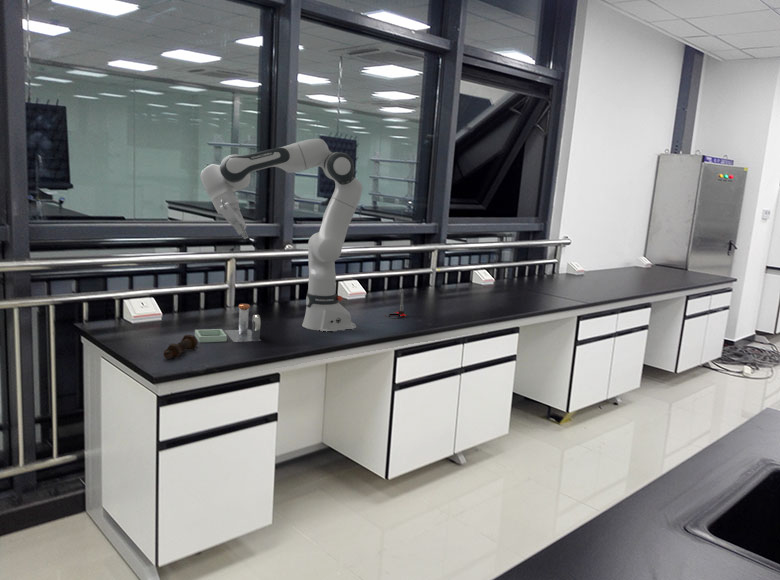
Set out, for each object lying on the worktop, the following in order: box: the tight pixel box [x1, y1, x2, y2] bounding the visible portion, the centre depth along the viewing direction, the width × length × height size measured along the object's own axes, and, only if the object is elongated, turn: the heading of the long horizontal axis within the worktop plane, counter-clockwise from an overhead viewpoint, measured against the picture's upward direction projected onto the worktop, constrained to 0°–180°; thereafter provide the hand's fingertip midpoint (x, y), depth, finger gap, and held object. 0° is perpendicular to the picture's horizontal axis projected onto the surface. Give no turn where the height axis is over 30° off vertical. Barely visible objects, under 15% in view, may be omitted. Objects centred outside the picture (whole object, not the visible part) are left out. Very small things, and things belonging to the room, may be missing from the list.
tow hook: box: [395, 288, 408, 316], centre depth 289 cm, size 8×13×9 cm
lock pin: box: [238, 303, 251, 334], centre depth 235 cm, size 4×4×11 cm
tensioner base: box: [223, 314, 262, 343], centre depth 233 cm, size 10×16×10 cm, turn 26°
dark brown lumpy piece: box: [162, 334, 199, 360], centre depth 208 cm, size 6×5×15 cm
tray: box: [194, 328, 228, 343], centre depth 226 cm, size 10×10×3 cm
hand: (243, 235), depth 237 cm, fingers open, 8 cm apart
